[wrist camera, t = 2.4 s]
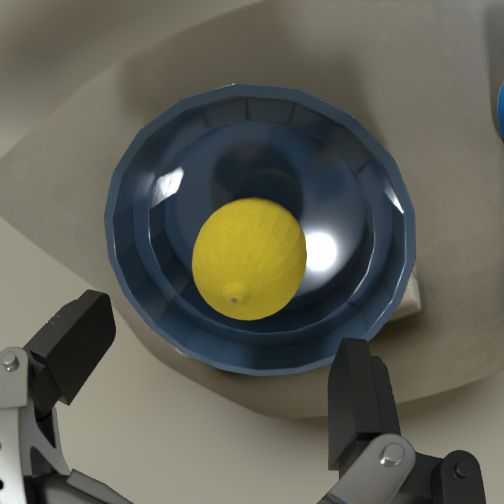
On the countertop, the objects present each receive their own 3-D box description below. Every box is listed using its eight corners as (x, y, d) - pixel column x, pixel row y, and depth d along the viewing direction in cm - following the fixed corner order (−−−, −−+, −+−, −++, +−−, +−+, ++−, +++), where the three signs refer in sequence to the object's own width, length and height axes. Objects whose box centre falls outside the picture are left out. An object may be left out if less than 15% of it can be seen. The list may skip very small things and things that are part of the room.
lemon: (210, 187, 18) (152, 238, 11) (303, 178, 17) (302, 227, 10) (225, 268, 21) (186, 350, 14) (309, 264, 20) (309, 352, 12)
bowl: (412, 118, 15) (448, 122, 11) (355, 339, 22) (362, 388, 18) (147, 89, 17) (101, 87, 12) (152, 305, 24) (123, 345, 19)
